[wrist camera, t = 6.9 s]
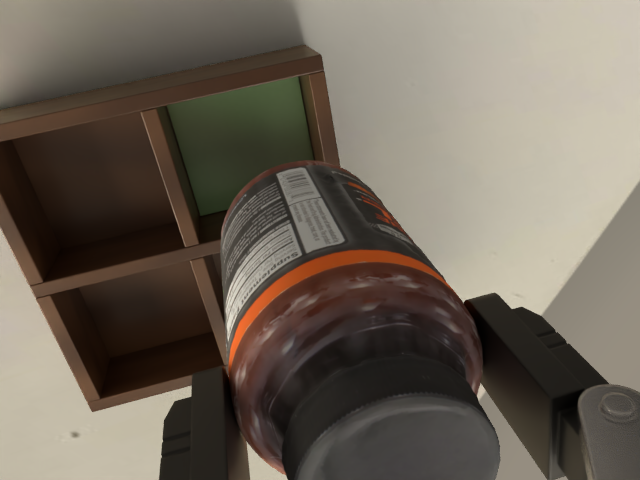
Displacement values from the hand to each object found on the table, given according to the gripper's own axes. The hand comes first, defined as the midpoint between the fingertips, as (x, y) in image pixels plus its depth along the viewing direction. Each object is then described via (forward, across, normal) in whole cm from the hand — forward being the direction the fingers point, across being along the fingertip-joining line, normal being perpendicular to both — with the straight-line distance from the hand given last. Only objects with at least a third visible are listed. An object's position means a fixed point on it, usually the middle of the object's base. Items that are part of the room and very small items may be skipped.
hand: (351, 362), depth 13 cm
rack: (+22, +5, +4) cm, 23 cm away
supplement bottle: (+8, 0, 0) cm, 8 cm away
